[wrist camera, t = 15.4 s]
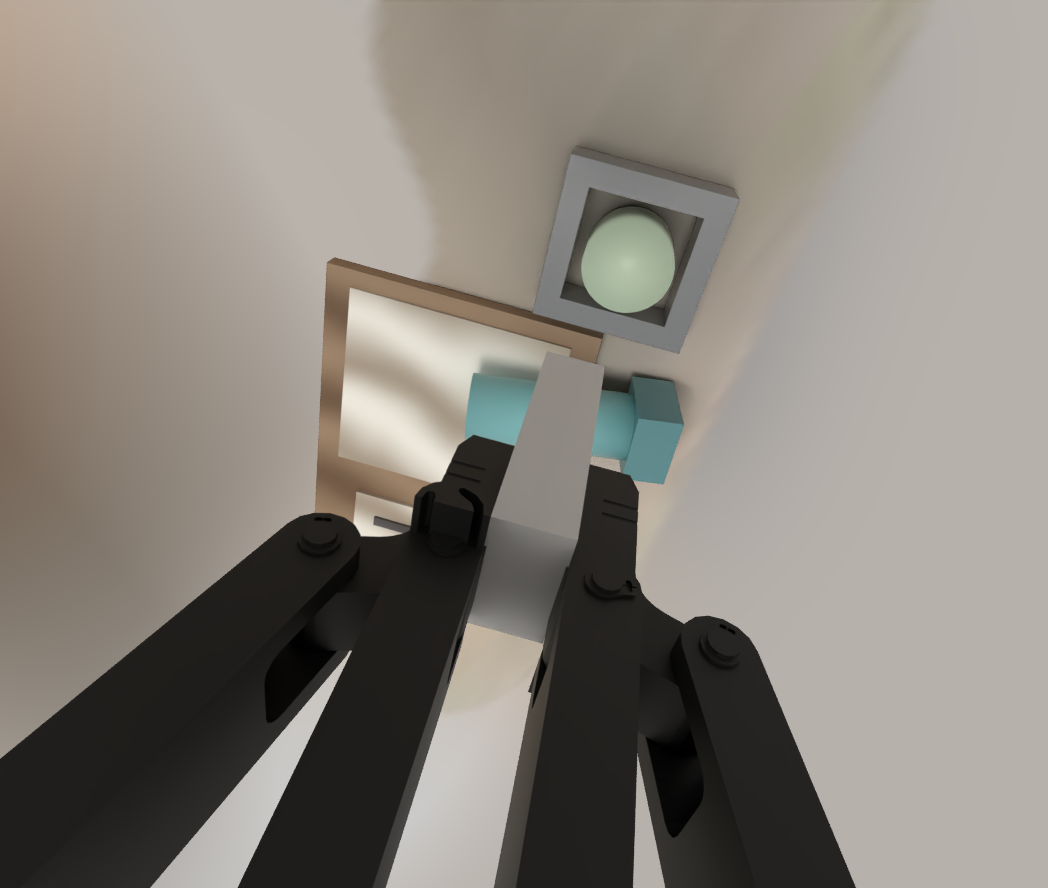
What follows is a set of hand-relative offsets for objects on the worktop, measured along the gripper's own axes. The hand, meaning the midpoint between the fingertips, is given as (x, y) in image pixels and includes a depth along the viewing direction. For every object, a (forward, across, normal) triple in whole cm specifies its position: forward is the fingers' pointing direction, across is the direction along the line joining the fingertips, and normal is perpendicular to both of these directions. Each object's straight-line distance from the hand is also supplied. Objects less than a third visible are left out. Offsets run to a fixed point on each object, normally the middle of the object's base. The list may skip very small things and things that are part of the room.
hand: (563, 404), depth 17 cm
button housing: (+20, +1, -1) cm, 20 cm away
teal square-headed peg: (+16, -5, -11) cm, 20 cm away
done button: (+19, +1, -1) cm, 19 cm away
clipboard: (+20, -7, -16) cm, 26 cm away
